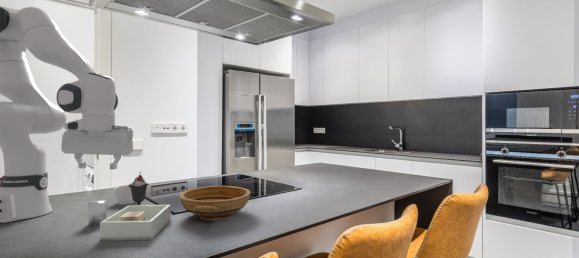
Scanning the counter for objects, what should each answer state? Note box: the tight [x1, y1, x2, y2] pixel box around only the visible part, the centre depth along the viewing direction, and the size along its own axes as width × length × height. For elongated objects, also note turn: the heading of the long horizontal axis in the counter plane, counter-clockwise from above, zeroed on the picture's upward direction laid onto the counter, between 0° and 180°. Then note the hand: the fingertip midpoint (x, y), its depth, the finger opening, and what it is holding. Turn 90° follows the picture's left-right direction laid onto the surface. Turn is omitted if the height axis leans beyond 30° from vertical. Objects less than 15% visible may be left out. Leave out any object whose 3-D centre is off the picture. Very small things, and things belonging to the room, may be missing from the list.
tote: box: [99, 204, 172, 242], centre depth 93 cm, size 18×14×5 cm
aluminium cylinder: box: [87, 199, 108, 227], centre depth 98 cm, size 5×5×7 cm
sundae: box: [127, 171, 150, 205], centre depth 111 cm, size 7×7×15 cm
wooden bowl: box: [178, 185, 252, 221], centre depth 108 cm, size 30×24×8 cm
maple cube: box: [120, 212, 145, 221], centre depth 89 cm, size 5×5×5 cm
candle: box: [113, 184, 137, 206], centre depth 124 cm, size 9×9×6 cm
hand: (97, 168), depth 97 cm, fingers open, 8 cm apart
